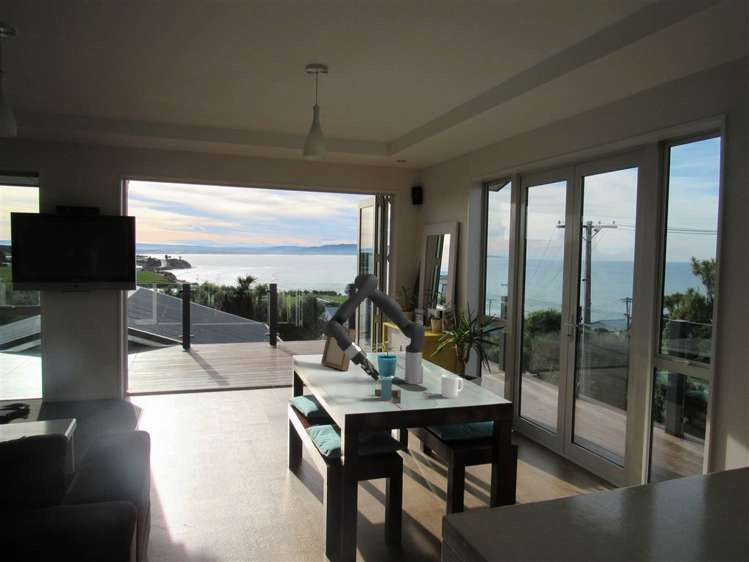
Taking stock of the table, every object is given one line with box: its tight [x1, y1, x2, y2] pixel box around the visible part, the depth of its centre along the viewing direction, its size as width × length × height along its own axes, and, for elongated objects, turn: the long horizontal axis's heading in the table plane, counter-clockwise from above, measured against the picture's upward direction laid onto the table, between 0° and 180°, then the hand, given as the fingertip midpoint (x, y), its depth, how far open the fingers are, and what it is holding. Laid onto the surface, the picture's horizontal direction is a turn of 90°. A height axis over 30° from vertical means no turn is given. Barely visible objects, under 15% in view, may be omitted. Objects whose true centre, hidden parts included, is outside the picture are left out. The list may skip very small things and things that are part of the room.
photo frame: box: [320, 327, 357, 372], centre depth 338 cm, size 15×22×25 cm
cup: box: [440, 374, 464, 399], centre depth 279 cm, size 8×12×10 cm
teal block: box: [380, 376, 393, 400], centre depth 270 cm, size 5×5×10 cm
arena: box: [374, 388, 402, 404], centre depth 270 cm, size 13×13×3 cm
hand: (378, 377), depth 269 cm, fingers open, 8 cm apart
